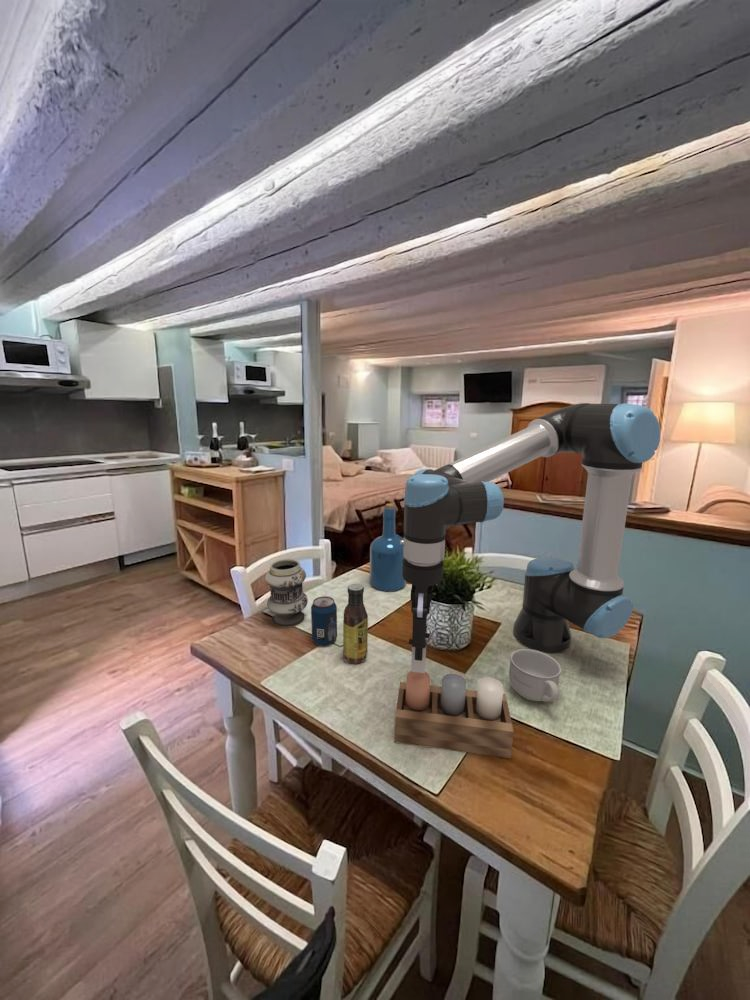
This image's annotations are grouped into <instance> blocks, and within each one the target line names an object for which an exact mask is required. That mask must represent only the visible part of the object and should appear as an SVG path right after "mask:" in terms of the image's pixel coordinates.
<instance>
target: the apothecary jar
mask: <svg viewBox="0 0 750 1000" xmlns="http://www.w3.org/2000/svg"><path fill="white" fill-rule="evenodd" d="M269 568H270V569H269V570H268V571H267V572H266V575H265V583H266V584H267V585H268V586H269V588H270V589H269V590H270V596H269V597H268V599H267V601H266V607H267V609H268V611H270V612H271V613H272V614H273V616H272V618H271V623H272V624H273V625H274V626H276V627H277V628H282V629H284V628H293V627H296V626H298V625H300V624H302V623H303V622H304V621H305V618H306V615H305V614H304V612H303V611H304V610H305V608H306V607H307V605H308V602H309V599H308V596H307V595H306V593H305V592H304V591H303V590H304V589H303V583H304V582H305V580H306V577H307V573H306V571H305V569H304V568H302V567H301V564H300V561H298V560H297V559H292V558H286V559H285V558H284V559H278V560H276V561H273V562H272V563H271V564H270V567H269Z"/></svg>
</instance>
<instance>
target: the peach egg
mask: <svg viewBox="0 0 750 1000" xmlns="http://www.w3.org/2000/svg"><path fill="white" fill-rule="evenodd" d="M405 683H406V706H407V707H408V708H409V709H411V710H413V711H417V712H420V711H424V710H426V709H427V708H428V707H429V698H430V685H431V675H430V673H428V672H427V671H425V673H419V672H411V670H409V671H408V672H407V674H406V677H405Z"/></svg>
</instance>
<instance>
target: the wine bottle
mask: <svg viewBox="0 0 750 1000" xmlns="http://www.w3.org/2000/svg"><path fill="white" fill-rule="evenodd" d="M396 517H397V516H396V508H395V507H394V504H393V503H386V504H385V507H384V508H383V514H382V518H383V522H382V524H383V525H382V535H381V536H378V537H376V538H375V539H374V540H373V541H372V542H371V543H370V546H369V581H370V585H371V586H372V587H373V588H374V589H376V590H378V591H383V592H384V591H385V592H393V591H394V592H395V591H398V590H402V589H404V587H405V585H406V583H407V582H406V581H405V580H404V579H403V577H402V566H403V559H404V556H403V548H404V546H403V545H401V544H400V541H401V540H404V537H403V536H401V535H399V534H397V533H396Z"/></svg>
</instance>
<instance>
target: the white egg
mask: <svg viewBox="0 0 750 1000" xmlns="http://www.w3.org/2000/svg"><path fill="white" fill-rule="evenodd" d="M476 688H477V690H476V691H477V700H476V712H477V714H478V715H479V716H480V717H481V718H483V719H485V720H489V721H494V720H497V719H499V718H500V716H501V708H502V698H503V694H504V685H503V683H502V682H501V681H499V680H498V679H496V678H493V677H489V676H487V677H486V676H484V677H482V678H480V679H478V681H477V687H476Z"/></svg>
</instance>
